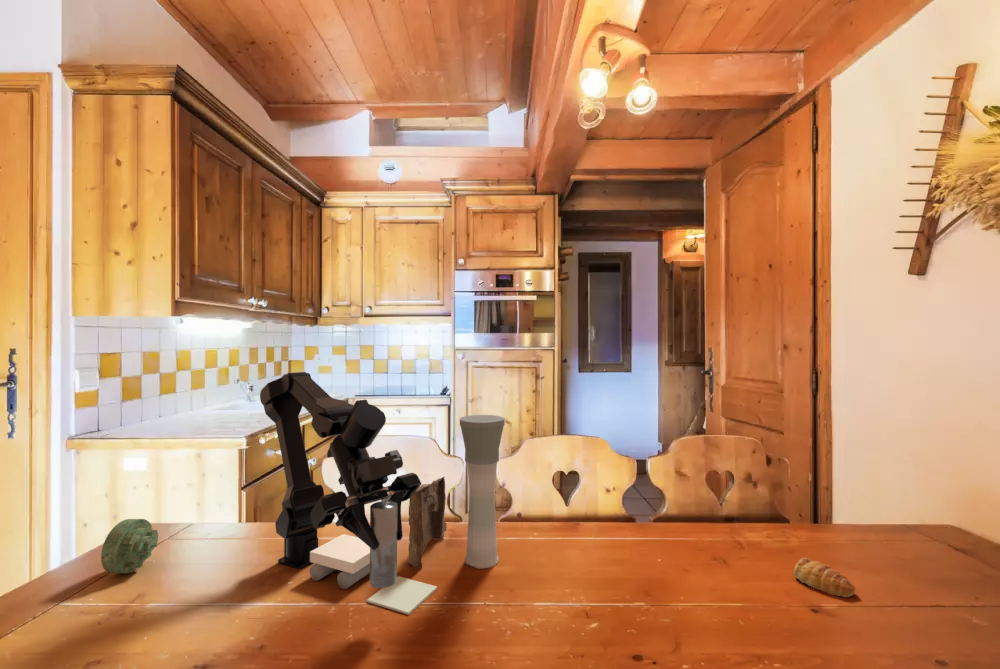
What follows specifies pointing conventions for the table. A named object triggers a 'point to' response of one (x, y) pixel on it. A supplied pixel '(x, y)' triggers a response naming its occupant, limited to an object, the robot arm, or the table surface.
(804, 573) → the pastry
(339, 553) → the slab on rollers
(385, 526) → the silver metal cylinder
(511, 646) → the table surface
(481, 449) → the container
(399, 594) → the mat
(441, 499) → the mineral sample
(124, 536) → the decorative artifact
